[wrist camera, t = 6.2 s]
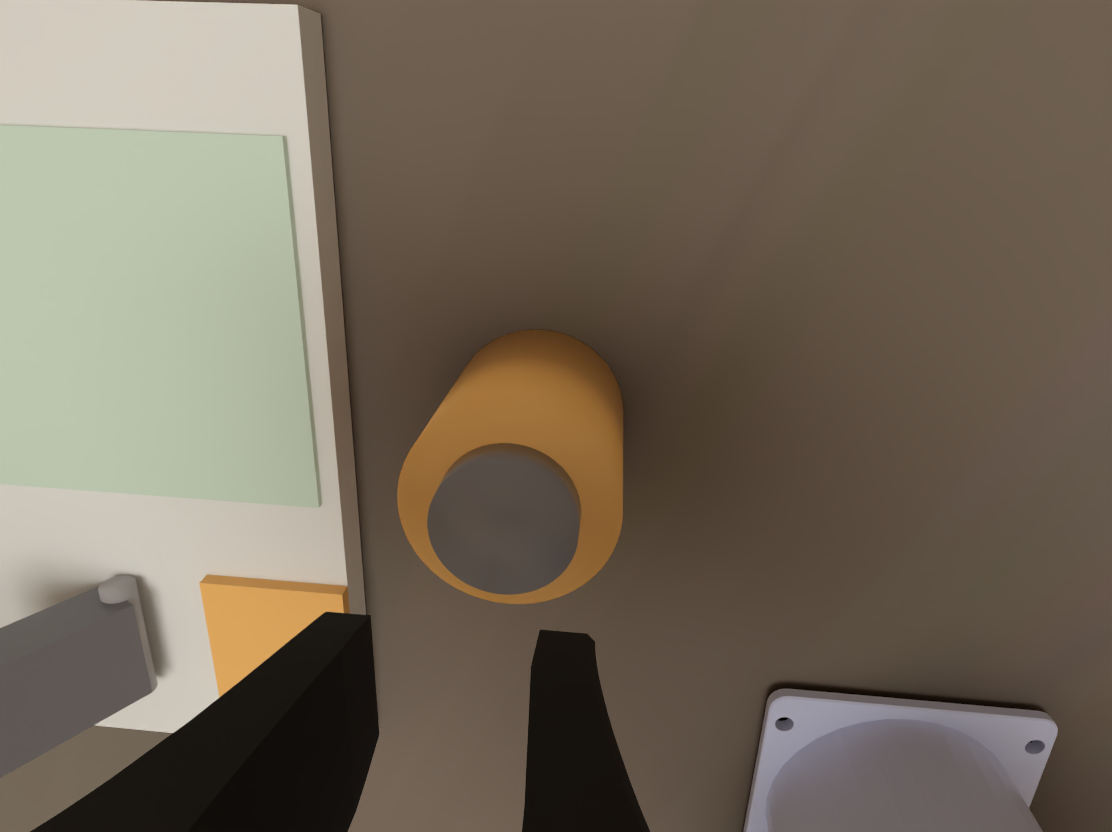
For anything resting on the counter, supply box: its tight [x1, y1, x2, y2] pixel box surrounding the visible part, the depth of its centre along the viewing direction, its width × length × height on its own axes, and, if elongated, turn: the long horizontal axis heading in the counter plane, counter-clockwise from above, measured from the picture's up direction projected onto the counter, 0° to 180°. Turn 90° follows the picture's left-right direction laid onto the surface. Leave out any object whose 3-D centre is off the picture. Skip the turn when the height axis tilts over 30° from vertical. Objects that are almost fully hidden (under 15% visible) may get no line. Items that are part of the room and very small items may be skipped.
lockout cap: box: [397, 329, 623, 604], centre depth 16 cm, size 4×4×6 cm
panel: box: [0, 0, 366, 733], centre depth 19 cm, size 20×16×2 cm
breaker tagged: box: [0, 575, 158, 778], centre depth 19 cm, size 4×2×5 cm, turn 178°
